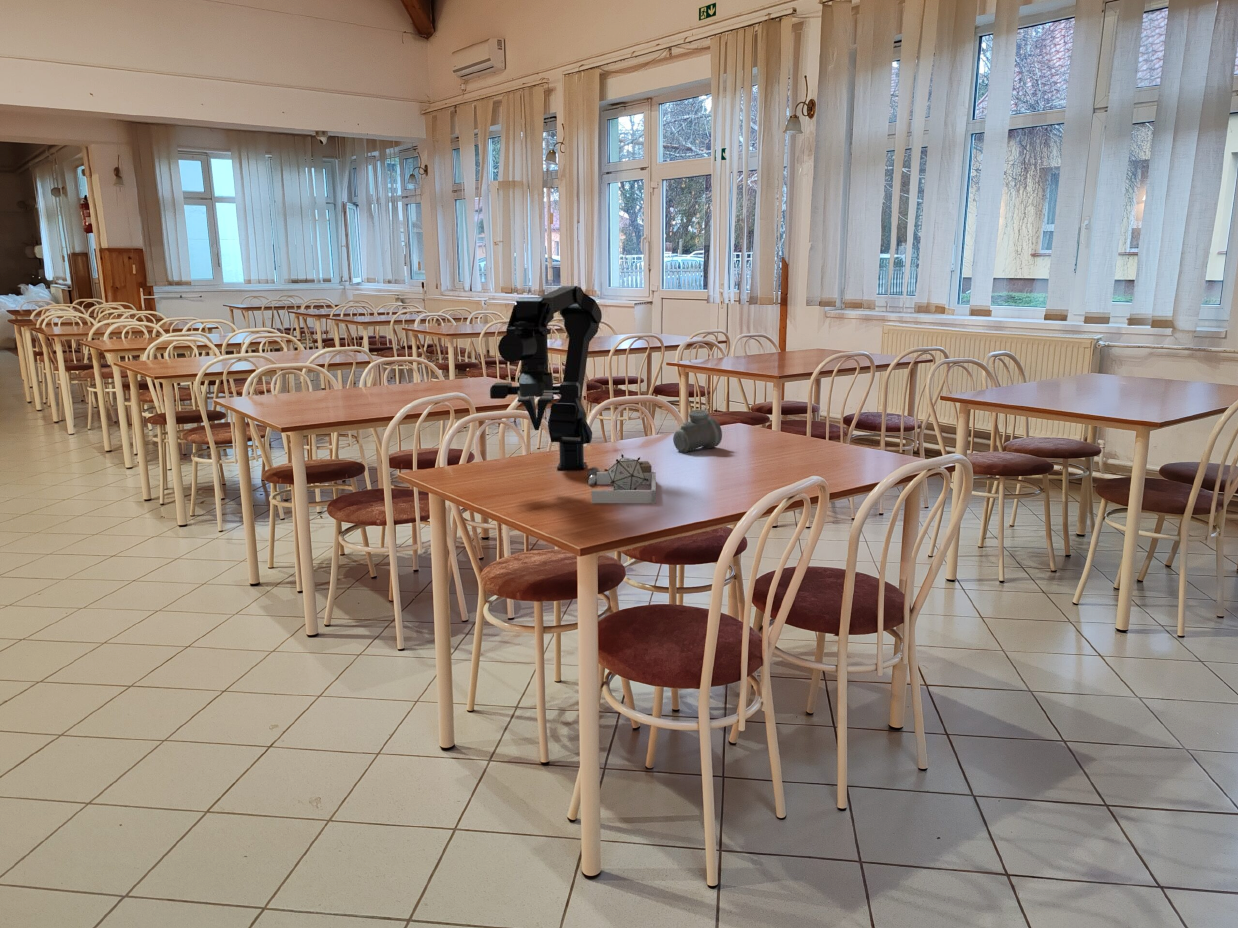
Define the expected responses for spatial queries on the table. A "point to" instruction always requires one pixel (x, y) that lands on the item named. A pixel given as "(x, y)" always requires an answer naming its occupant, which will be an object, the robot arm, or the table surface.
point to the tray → (624, 491)
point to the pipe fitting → (698, 432)
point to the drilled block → (645, 466)
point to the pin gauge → (592, 475)
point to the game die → (626, 474)
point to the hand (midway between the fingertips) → (536, 430)
